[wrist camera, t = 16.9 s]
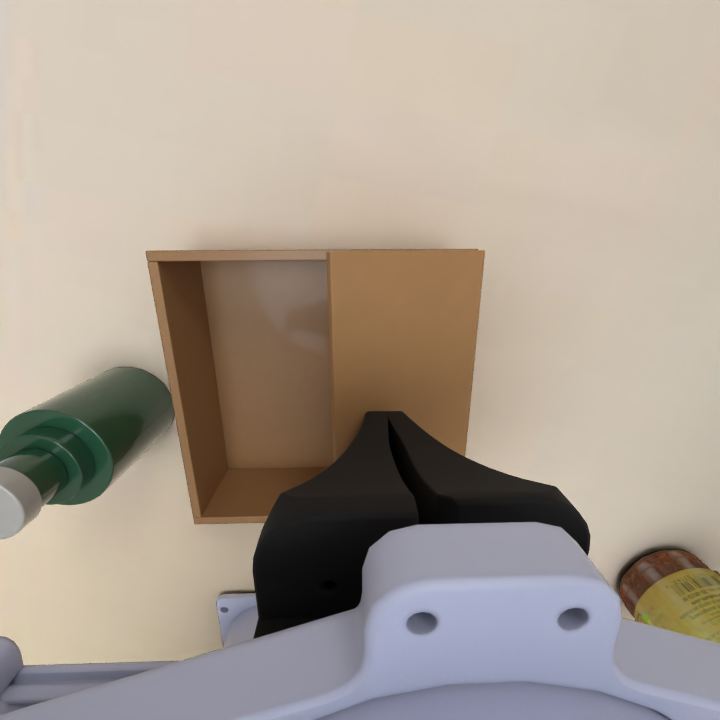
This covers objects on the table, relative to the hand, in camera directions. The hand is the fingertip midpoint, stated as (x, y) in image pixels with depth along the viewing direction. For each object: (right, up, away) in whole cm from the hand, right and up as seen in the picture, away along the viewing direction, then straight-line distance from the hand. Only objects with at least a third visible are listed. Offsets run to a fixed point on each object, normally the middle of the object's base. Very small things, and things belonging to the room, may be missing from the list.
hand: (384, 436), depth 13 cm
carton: (-3, +2, +7) cm, 8 cm away
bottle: (-14, 0, +7) cm, 16 cm away
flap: (+1, 0, +1) cm, 1 cm away
